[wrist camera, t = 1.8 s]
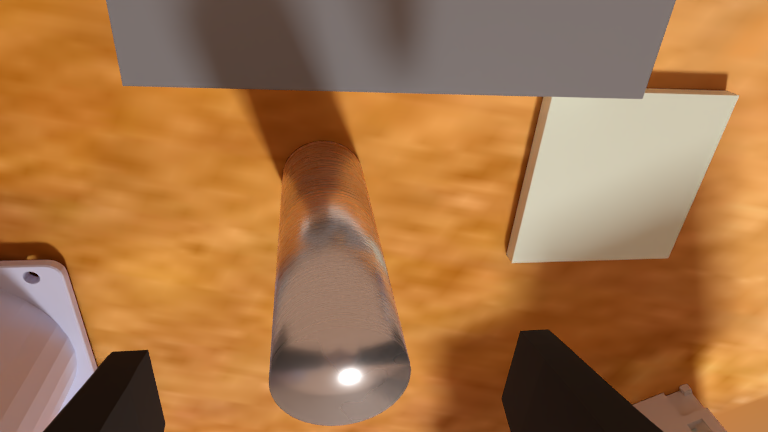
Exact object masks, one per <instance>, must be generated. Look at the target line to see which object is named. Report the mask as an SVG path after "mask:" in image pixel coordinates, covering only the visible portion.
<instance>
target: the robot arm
mask: <svg viewBox="0 0 768 432" xmlns="http://www.w3.org/2000/svg"><path fill="white" fill-rule="evenodd" d="M29 272H34V273H36V274H38V276H39V277H36V276H33V275H31V274H30V273H29ZM502 402H503V406H504V409H505V413H506V417H507V420H508V424H509V427H510V431H511V432H663V431H662V430H661V429H660V428H659V427H657V426H656V425H655V424H654V423H653V422H651V421H650V420H649V419H648V418H647V417H646V416H644V415H643V414H642V413H641V412H640V411H639V410H637V409H636V408H635V407H634V406H633V405H632V404H631V403H629V402H628V401H627V400H626V399H625V398H624V397H623V396H621V395H620V394H619V393H618V392H617V391H616V390H615V389H614V388H612V387H611V386H610V385H609V384H608V383H607V382H606V381H605V380H604V379H602V378H601V377H600V376H599V375H598V374H597V373H596V372H595V371H594V370H593V369H592V368H590V367H589V366H588V365H587V364H586V363H585V362H584V361H583V360H582V359H581V358H579V357H578V356H577V355H576V354H575V353H574V352H573V351H572V350H571V349H570V348H569V347H567V346H566V345H565V344H564V343H563V342H562V341H561V340H560V339H559V338H557V337H556V336H555V335H554V334H553V333H552V332H551V331H549V330H529V331H520V334H519V338H518V341H517V345H516V349H515V352H514V356H513V359H512V363H511V366H510V370H509V374H508V377H507V381H506V384H505V388H504V392H503V395H502ZM164 428H165V420H164V416H163V411H162V407H161V403H160V399H159V395H158V390H157V386H156V382H155V378H154V373H153V369H152V365H151V361H150V356H149V352H148V350H140V351H120V352H112V353H111V354H110V355H109V356H107V357H106V359H105V360H104V361H103V362H102V363H101V365H100V366H99V367H98V368H97V365H96V362H95V359H94V356H93V352H92V349H91V346H90V343H89V340H88V337H87V333H86V330H85V327H84V324H83V321H82V317H81V314H80V311H79V308H78V305H77V301H76V298H75V295H74V292H73V289H72V286H71V282H70V279H69V276H68V273H67V270H66V268H65V267H64V266H63V265H62V264H61V263H59V262H57V261H54V260H14V261H0V432H164Z"/></svg>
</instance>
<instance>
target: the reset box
mask: <svg viewBox="0 0 768 432" xmlns="http://www.w3.org/2000/svg"><path fill="white" fill-rule="evenodd" d="M675 1H676V0H106V2H107V8H108V13H109V18H110V23H111V28H112V33H113V38H114V43H115V48H116V53H117V58H118V63H119V68H120V73H121V79H122V84H123V86H152V87H191V88H230V89H269V90H307V91H346V92H385V93H424V94H463V95H501V96H540V97H579V98H618V99H643V96H644V93H645V90H646V87H647V84H648V81H649V78H650V75H651V72H652V69H653V66H654V63H655V60H656V57H657V55H658V52H659V49H660V46H661V43H662V40H663V37H664V34H665V31H666V28H667V25H668V22H669V19H670V16H671V13H672V10H673V7H674V4H675Z"/></svg>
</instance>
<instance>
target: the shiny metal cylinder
mask: <svg viewBox="0 0 768 432" xmlns="http://www.w3.org/2000/svg"><path fill="white" fill-rule="evenodd" d="M410 373H411V367H410V361H409V357H408V353H407V349H406V345H405V341H404V337H403V333H402V329H401V325H400V321H399V317H398V313H397V309H396V305H395V301H394V296H393V292H392V288H391V284H390V280H389V276H388V272H387V268H386V264H385V260H384V256H383V252H382V248H381V244H380V240H379V236H378V232H377V228H376V224H375V220H374V216H373V212H372V207H371V203H370V199H369V195H368V191H367V187H366V183H365V179H364V175H363V171H362V167H361V164H360V162H359V160H358V159H357V157H356V156H355V155H354V153H353V152H352V151H350V150H349V149H348V148H346V147H345V146H343V145H341V144H338V143H335V142H331V141H315V142H311V143H308V144H305V145H303V146H301V147H300V148H298V149H297V150H296V151H294V152H293V153H292V154H291V156H290V157H289V158H288V160H287V162H286V164H285V166H284V170H283V178H282V193H281V208H280V223H279V238H278V253H277V267H276V282H275V297H274V312H273V327H272V342H271V357H270V372H269V388H270V392H271V395H272V397H273V399H274V401H275V402H276V403H277V405H278V406H279V407H280V408H281V409H282V410H283V411H285V412H286V413H287V414H289V415H290V416H292V417H294V418H296V419H298V420H301V421H304V422H307V423H311V424H317V425H327V426H336V425H347V424H352V423H357V422H360V421H364V420H366V419H369V418H371V417H374V416H376V415H378V414H380V413H381V412H383V411H385V410H386V409H388V408H389V407H390V406H391V405H393V404H394V403H395V402H396V401H397V400H398V399H399V398H400V396H401V395H402V394H403V392H404V391H405V389H406V387H407V385H408V382H409V379H410Z"/></svg>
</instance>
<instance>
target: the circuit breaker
mask: <svg viewBox="0 0 768 432" xmlns="http://www.w3.org/2000/svg"><path fill="white" fill-rule="evenodd" d="M679 388H680V391H678V392H675V393H672V394H670V395H667V396H665V394H664V393H661V394H659V395H656V396H654V397H651V398H649V399H646V400H644V401H641V402H638V403H636V404H633V406H634V407H635V408H636V409H637V410H639V411H640V412H641V413H642V414H643V415H644V416H646V417H647V418H648V419H649V420H650V421H651V422H653V423H654V424H655V425H656V426H657V427H659V428H660V429H661V430H662V431H663V432H727V431H726V430H725V429H724V427H723V426H722V425H721V424H720V423H719V422H718V420H717V419H716V418H715V417H714V415H713V414H712V413H711V412H710V411H709V409H708V408H704V407H703V406H702V405H701V403H700V402H699V401H698V400H697V399H696V397H695V396H694V395H693V394H692V389H691V388H690V387H689V385H688V384H684V385H682V386H679Z"/></svg>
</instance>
